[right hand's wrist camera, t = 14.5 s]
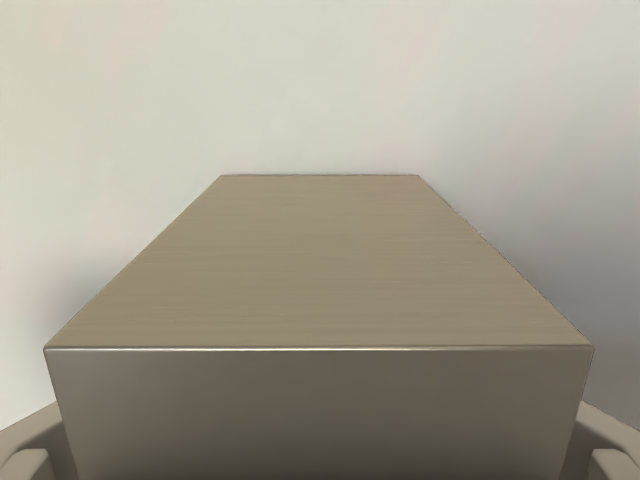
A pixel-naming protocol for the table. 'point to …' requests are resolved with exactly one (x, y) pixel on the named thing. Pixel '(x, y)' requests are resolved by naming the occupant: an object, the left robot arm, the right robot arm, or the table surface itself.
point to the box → (319, 345)
